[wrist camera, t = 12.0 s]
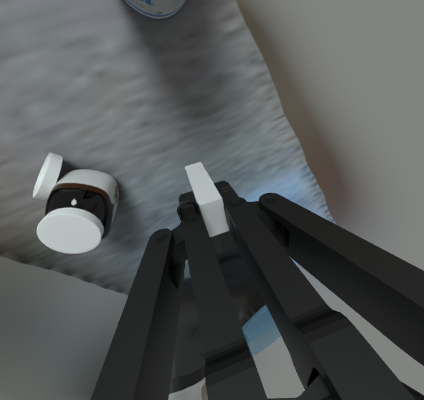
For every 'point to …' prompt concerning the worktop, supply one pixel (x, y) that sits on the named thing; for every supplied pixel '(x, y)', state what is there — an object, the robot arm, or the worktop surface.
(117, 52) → the worktop surface
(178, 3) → the supplement tub
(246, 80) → the worktop surface
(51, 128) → the worktop surface
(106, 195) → the spread jar
